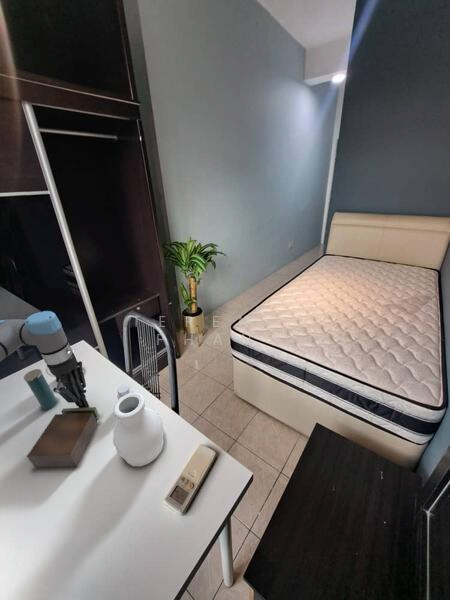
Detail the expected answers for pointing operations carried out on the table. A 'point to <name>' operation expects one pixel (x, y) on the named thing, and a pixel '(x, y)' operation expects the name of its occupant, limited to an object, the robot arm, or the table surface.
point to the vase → (137, 430)
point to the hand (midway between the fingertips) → (84, 408)
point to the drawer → (81, 411)
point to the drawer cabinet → (63, 441)
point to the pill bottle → (123, 390)
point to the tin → (40, 389)
